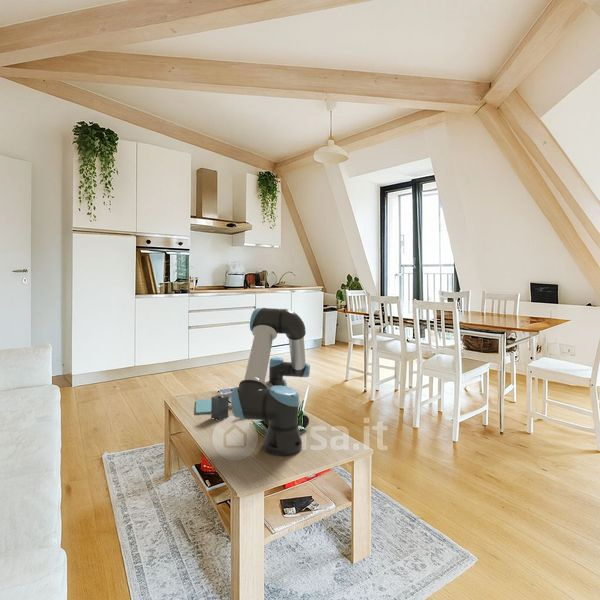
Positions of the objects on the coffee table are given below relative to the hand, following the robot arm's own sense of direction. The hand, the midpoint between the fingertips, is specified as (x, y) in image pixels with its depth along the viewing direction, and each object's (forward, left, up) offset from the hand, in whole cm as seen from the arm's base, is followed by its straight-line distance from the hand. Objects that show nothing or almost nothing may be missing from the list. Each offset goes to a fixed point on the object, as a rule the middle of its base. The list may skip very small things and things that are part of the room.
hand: (232, 400), depth 179 cm
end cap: (-21, -27, -7) cm, 35 cm away
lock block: (-5, +6, -6) cm, 10 cm away
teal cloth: (+10, +11, -6) cm, 16 cm away
